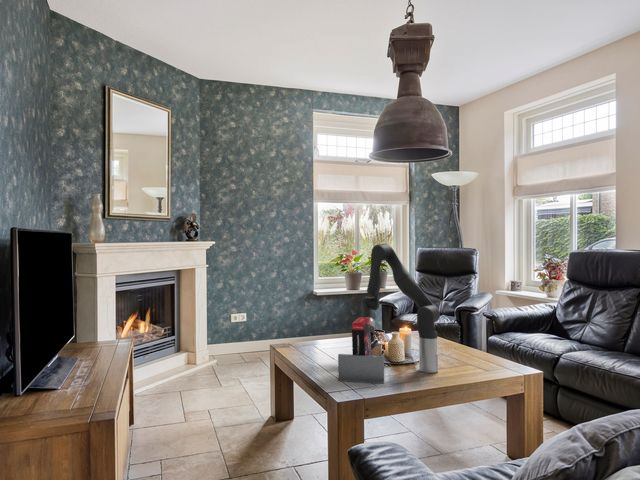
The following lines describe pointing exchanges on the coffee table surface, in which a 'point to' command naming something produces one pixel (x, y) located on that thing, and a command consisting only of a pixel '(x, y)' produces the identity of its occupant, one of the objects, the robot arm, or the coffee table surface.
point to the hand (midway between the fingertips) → (365, 355)
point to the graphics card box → (361, 336)
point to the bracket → (361, 368)
